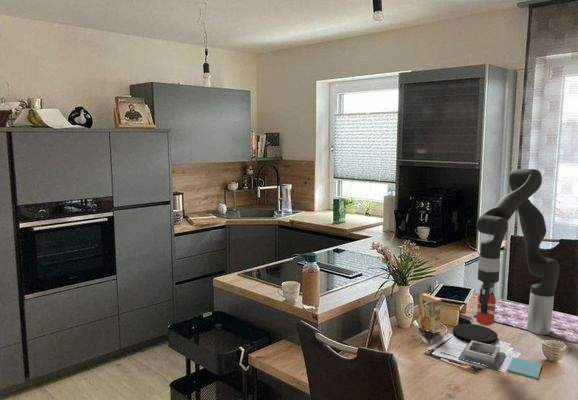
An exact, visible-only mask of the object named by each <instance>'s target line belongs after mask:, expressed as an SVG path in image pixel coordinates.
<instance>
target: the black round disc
mask: <svg viewBox="0 0 578 400" xmlns="http://www.w3.org/2000/svg"><path fill="white" fill-rule="evenodd" d="M452 335H453V336H454V337H455V338H456V339H458V340H459V341H462V342H463V343H467V344H469V343H470V342H471V340H472V341H477V342H481V343H485V344H490V345H494V344H496V343H497V342H496V341H498V334H497V332H496V331H495V330H493V329H492V328H490V327H487V326H484V325H481V324H474V323H459V324H456V325H454V326H453V327H452ZM493 343H494V344H493Z"/></svg>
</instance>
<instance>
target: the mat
mask: <svg viewBox="0 0 578 400" xmlns="http://www.w3.org/2000/svg"><path fill="white" fill-rule="evenodd" d="M542 365H543V364H542V363H538V362H534V361H530V360H527V359H523V358H518V357H515V356H513V357H512V358H511V360H510V363H509V365H508V367H507V369H506V371H507V372H510V373H513V374H517V375H521V376H525V377H528V378H531V379H535V380H538V379H539V376H540V373H541V370H542V367H543V366H542Z"/></svg>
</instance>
